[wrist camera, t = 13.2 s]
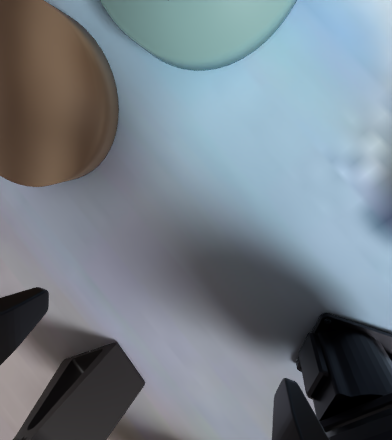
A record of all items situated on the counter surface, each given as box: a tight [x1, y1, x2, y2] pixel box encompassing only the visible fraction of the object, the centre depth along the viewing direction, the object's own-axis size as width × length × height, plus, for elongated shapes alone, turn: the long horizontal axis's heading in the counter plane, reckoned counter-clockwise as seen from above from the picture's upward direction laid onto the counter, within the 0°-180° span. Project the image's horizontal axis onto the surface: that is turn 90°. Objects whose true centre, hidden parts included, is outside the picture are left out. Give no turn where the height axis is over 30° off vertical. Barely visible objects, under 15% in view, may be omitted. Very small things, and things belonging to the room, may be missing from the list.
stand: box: [0, 0, 119, 187], centre depth 20 cm, size 13×13×3 cm
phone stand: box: [13, 342, 145, 440], centre depth 25 cm, size 9×6×12 cm, turn 120°
